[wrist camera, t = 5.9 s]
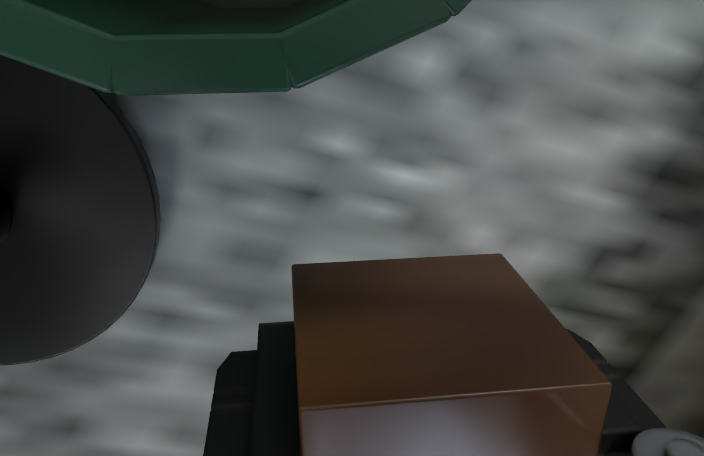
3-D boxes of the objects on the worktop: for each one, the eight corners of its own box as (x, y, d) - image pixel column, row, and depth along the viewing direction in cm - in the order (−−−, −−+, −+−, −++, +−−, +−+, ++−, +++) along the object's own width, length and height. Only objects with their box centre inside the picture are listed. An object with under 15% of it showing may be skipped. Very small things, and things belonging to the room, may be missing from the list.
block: (299, 434, 12) (308, 628, 8) (291, 263, 10) (298, 408, 7) (483, 418, 12) (569, 598, 9) (501, 252, 11) (614, 383, 7)
